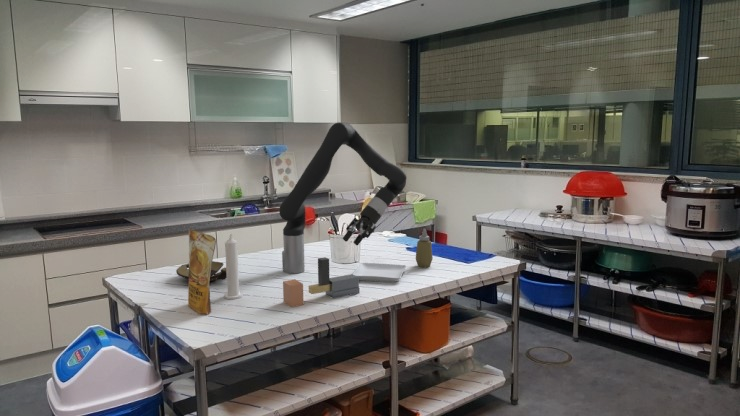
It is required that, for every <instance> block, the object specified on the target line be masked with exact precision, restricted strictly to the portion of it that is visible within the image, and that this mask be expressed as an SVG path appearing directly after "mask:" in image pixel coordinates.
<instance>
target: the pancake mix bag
mask: <svg viewBox="0 0 740 416" xmlns="http://www.w3.org/2000/svg"><path fill="white" fill-rule="evenodd" d="M187 233H188V259H189V260H188V263H189V268H188V269H189V280H188V289H187V290H188V291H187V292H188V295H187V296H188V297H187V298H188V299H187V301H188V302H187V303H188V307H189V308H190V309H191V310H193V311H195V312H196V313H197V314H199V315H209V314H210V313H212V306H211V289H210V288H211V287H210V285H211V284H210V282H211V281H210V273H211V268H212V261H213V259H214V253H215V250H216V243H217V239H216V238H215V237H214V236H213V235H210V234H207V233H203V232H202V231H199V230H198V231H197V230H193V229H190V230H188V231H187Z"/></svg>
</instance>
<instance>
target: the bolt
mask: <svg viewBox="0 0 740 416" xmlns="http://www.w3.org/2000/svg"><path fill="white" fill-rule="evenodd" d="M317 273H318V274H317V279H318V280H317V282H318V283H315V284H309V285H308V293H309V294H310V295H314V294H320V293H326V291H331V283H330V281H329V278H330V258H328V257H318V258H317Z"/></svg>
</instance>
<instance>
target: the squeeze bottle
mask: <svg viewBox="0 0 740 416" xmlns="http://www.w3.org/2000/svg"><path fill="white" fill-rule="evenodd" d="M432 246H433V244H432V241H431V240H430V236H429V235H428V233H427V229H426V228H423V229H422V232H421V235H419V240H418V241H417V242H416V250H415V251H416V252H415V261H416V264H417V266H418V267H420V268H430V267H431V264H432V262H433V248H432Z"/></svg>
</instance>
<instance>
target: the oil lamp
mask: <svg viewBox="0 0 740 416" xmlns="http://www.w3.org/2000/svg"><path fill="white" fill-rule="evenodd" d="M223 266H224V263H223V262H220V261H213V260H212V268H211V273H210V281H209V282H212V281H216V280H219V281H225V280H227V274H226V267H223ZM219 270H220V271H219ZM175 272H176V274H177V275H178V277H181V278H183V279H186V280H188V281H189V262H188V263H185V264H181V266H179V267H177V268H176V270H175Z"/></svg>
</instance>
